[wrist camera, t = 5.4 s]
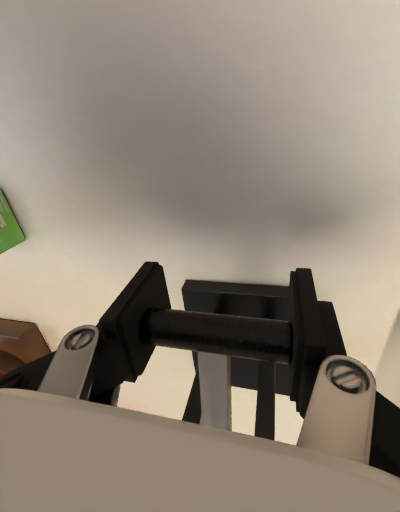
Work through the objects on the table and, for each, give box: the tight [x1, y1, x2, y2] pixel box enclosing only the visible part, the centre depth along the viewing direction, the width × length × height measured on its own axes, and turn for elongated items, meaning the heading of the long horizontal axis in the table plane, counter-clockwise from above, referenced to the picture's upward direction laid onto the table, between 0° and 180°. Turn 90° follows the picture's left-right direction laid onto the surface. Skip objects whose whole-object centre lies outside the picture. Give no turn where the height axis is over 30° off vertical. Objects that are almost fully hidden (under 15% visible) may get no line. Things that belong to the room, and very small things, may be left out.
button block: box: [0, 319, 51, 376], centre depth 32 cm, size 12×9×4 cm
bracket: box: [182, 280, 290, 440], centre depth 17 cm, size 11×9×13 cm
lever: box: [140, 307, 293, 431], centre depth 11 cm, size 12×6×2 cm, turn 6°
